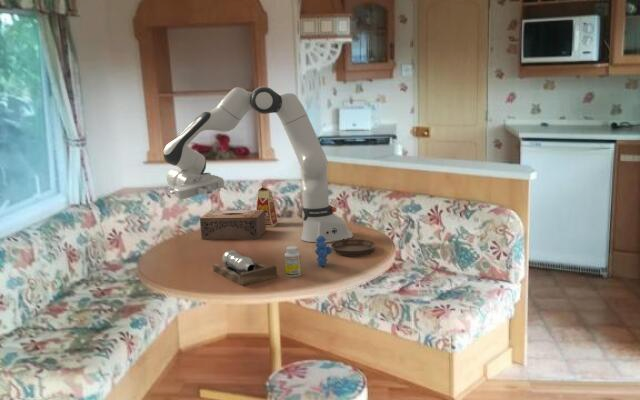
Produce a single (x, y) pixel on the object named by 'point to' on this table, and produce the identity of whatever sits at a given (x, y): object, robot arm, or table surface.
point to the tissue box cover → (233, 224)
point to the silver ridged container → (238, 262)
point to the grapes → (322, 250)
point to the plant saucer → (353, 247)
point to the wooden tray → (247, 273)
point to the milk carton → (267, 206)
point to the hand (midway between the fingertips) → (209, 191)
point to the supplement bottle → (292, 262)
